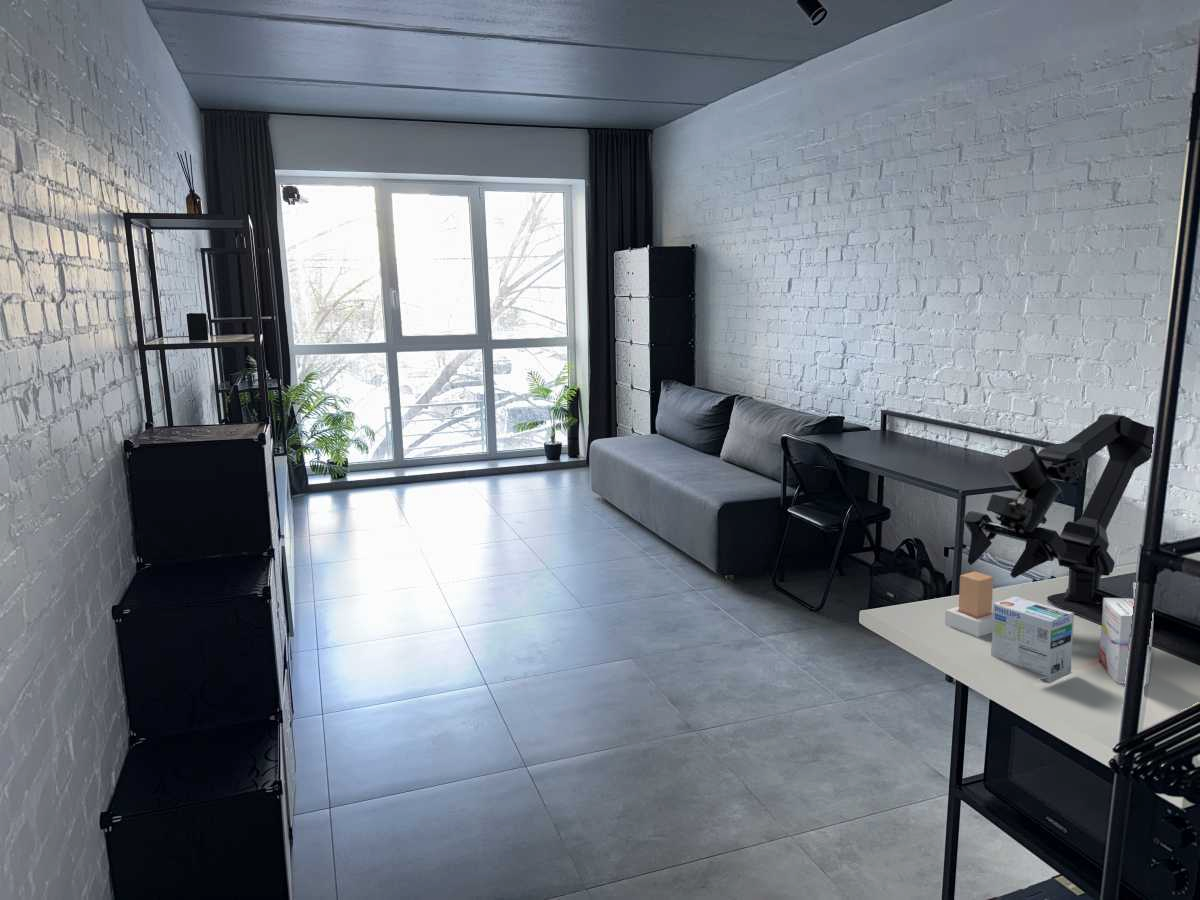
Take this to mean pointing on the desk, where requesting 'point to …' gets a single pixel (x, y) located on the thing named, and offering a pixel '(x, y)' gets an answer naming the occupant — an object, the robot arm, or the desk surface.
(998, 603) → the light bulb box
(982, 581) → the plug
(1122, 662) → the ink cartridge box
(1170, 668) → the desk surface
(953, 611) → the white square socket
